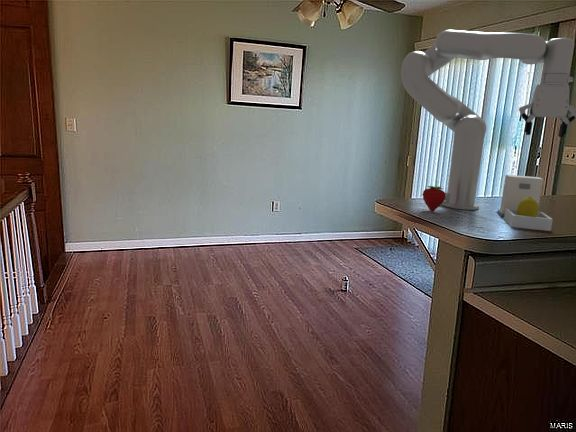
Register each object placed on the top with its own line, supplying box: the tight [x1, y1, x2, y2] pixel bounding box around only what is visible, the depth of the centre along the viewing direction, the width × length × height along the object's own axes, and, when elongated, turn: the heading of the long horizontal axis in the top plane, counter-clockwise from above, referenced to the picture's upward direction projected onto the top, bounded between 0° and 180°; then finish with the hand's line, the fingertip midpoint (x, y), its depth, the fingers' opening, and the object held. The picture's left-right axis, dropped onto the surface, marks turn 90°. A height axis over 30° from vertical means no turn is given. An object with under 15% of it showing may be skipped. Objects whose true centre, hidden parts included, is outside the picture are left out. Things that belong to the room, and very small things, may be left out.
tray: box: [503, 209, 554, 232], centre depth 139 cm, size 11×11×4 cm
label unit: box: [497, 174, 544, 219], centre depth 149 cm, size 11×7×13 cm, turn 76°
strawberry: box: [422, 180, 446, 212], centre depth 151 cm, size 6×8×10 cm
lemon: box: [517, 197, 539, 217], centre depth 138 cm, size 6×6×8 cm
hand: (544, 135), depth 148 cm, fingers open, 9 cm apart
